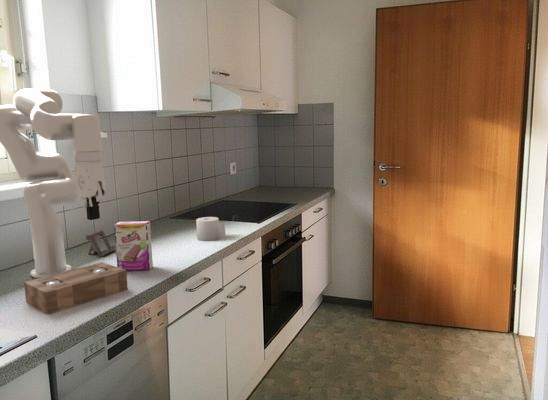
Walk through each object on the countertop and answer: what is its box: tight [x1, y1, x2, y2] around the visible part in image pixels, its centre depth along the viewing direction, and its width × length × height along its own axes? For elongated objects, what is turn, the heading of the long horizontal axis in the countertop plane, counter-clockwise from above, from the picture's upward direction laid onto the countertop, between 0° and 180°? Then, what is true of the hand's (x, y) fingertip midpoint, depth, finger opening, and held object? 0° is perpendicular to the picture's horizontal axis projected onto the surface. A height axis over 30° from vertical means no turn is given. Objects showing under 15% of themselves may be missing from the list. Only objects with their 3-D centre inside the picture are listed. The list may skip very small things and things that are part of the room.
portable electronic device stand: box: [85, 229, 116, 258], centre depth 187 cm, size 9×8×8 cm
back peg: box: [93, 268, 105, 273], centre depth 146 cm, size 4×4×6 cm
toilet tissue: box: [195, 216, 227, 242], centre depth 207 cm, size 9×13×9 cm
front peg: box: [46, 280, 60, 286], centre depth 136 cm, size 4×4×6 cm
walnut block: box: [23, 261, 128, 315], centre depth 141 cm, size 14×24×6 cm, turn 139°
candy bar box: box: [113, 220, 154, 272], centre depth 165 cm, size 11×5×16 cm, turn 92°
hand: (93, 218), depth 144 cm, fingers closed
